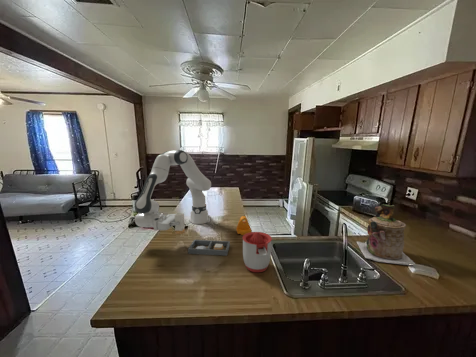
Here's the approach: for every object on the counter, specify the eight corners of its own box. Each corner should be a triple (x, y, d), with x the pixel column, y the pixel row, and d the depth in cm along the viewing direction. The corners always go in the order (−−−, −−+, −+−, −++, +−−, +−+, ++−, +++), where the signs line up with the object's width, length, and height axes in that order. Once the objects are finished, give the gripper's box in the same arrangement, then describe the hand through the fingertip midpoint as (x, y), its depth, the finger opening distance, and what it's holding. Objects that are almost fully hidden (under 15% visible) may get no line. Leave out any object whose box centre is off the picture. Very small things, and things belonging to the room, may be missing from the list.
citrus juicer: (248, 279, 105) (248, 241, 102) (238, 261, 122) (239, 228, 119) (277, 274, 109) (278, 238, 106) (264, 257, 126) (265, 225, 123)
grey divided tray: (194, 243, 143) (194, 239, 143) (229, 245, 141) (229, 241, 140) (188, 253, 130) (187, 249, 130) (227, 255, 128) (227, 250, 128)
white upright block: (177, 230, 142) (176, 212, 140) (186, 230, 141) (185, 213, 139) (173, 234, 136) (172, 215, 134) (182, 234, 135) (182, 216, 133)
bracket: (237, 235, 158) (237, 219, 156) (236, 231, 165) (236, 216, 163) (251, 234, 159) (252, 219, 157) (250, 230, 166) (250, 215, 164)
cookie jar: (397, 247, 140) (403, 200, 135) (416, 268, 116) (425, 211, 111) (355, 242, 146) (359, 197, 141) (365, 261, 123) (371, 207, 118)
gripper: (167, 220, 149) (186, 220, 148) (153, 231, 129) (175, 232, 128) (166, 211, 148) (186, 212, 147) (152, 221, 128) (174, 222, 127)
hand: (181, 221), depth 137 cm, fingers closed on white upright block, 4 cm apart
